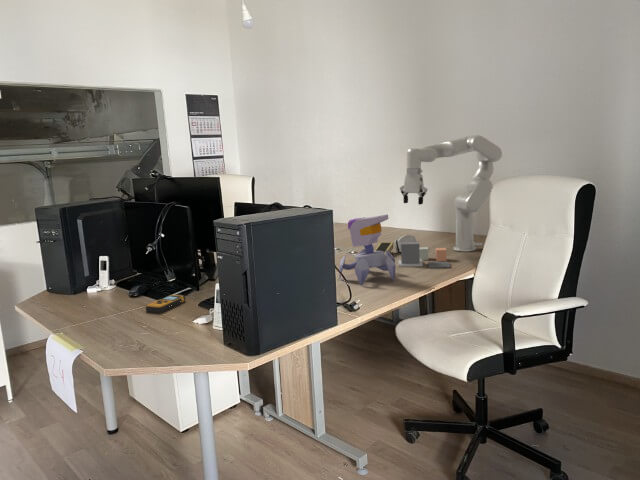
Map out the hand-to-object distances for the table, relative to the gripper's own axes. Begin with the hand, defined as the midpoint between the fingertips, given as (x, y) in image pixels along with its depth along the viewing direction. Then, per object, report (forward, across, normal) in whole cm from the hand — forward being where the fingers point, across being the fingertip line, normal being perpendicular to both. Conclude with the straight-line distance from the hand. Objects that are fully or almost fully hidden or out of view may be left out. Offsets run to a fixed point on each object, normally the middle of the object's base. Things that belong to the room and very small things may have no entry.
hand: (413, 203), depth 267 cm
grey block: (+29, -11, +5) cm, 31 cm away
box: (+30, +12, +12) cm, 34 cm away
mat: (+28, -25, +12) cm, 40 cm away
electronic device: (+34, +28, +132) cm, 139 cm away
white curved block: (+29, +9, -8) cm, 31 cm away
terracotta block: (+28, -20, +2) cm, 35 cm away
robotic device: (+30, -12, +50) cm, 60 cm away
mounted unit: (+29, -12, +18) cm, 36 cm away
